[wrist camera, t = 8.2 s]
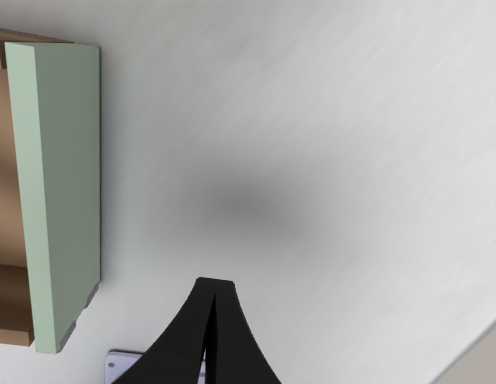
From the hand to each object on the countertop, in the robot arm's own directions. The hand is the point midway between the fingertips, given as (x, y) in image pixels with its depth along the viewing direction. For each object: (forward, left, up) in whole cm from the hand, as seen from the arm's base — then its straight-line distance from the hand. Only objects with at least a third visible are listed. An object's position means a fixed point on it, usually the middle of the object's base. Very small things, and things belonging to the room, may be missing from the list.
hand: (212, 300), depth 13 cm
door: (0, +8, -9) cm, 12 cm away
